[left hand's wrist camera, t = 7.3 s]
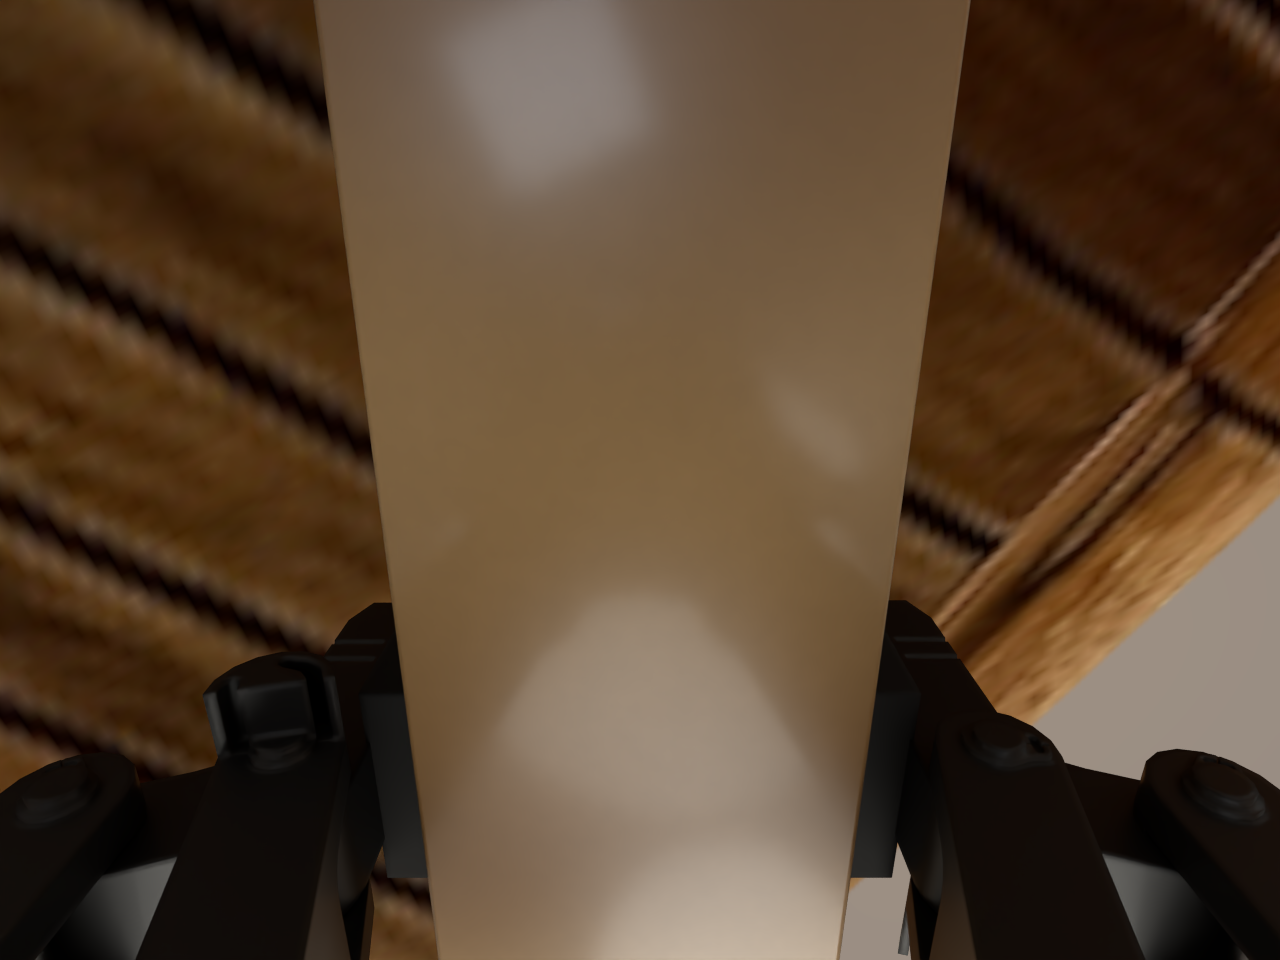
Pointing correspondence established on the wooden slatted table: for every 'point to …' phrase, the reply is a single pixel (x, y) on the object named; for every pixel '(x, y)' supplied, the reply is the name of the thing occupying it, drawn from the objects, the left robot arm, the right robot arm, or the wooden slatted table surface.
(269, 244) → the wooden slatted table surface
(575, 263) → the bar
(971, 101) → the wooden slatted table surface
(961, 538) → the wooden slatted table surface
